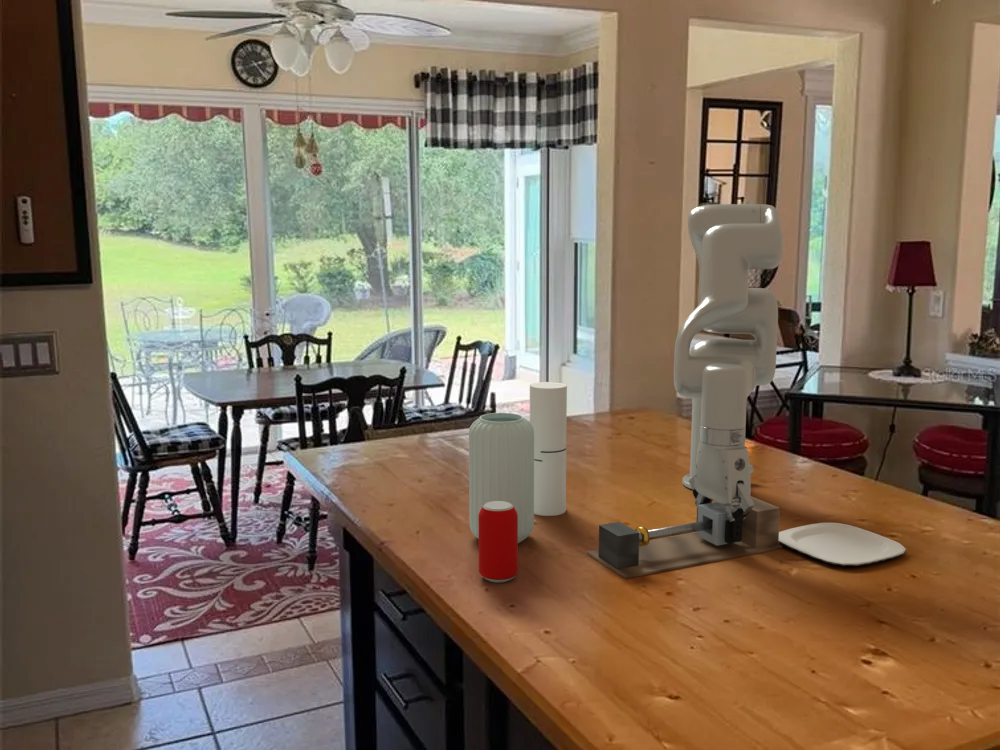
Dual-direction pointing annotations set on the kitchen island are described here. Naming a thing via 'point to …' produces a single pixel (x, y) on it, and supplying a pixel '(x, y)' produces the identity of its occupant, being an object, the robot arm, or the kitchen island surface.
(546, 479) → the cylindrical container
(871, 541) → the plate
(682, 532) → the metal rod
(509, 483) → the vase
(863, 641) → the kitchen island surface
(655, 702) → the kitchen island surface
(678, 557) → the slide base
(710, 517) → the grey sliding block
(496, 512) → the beverage can
